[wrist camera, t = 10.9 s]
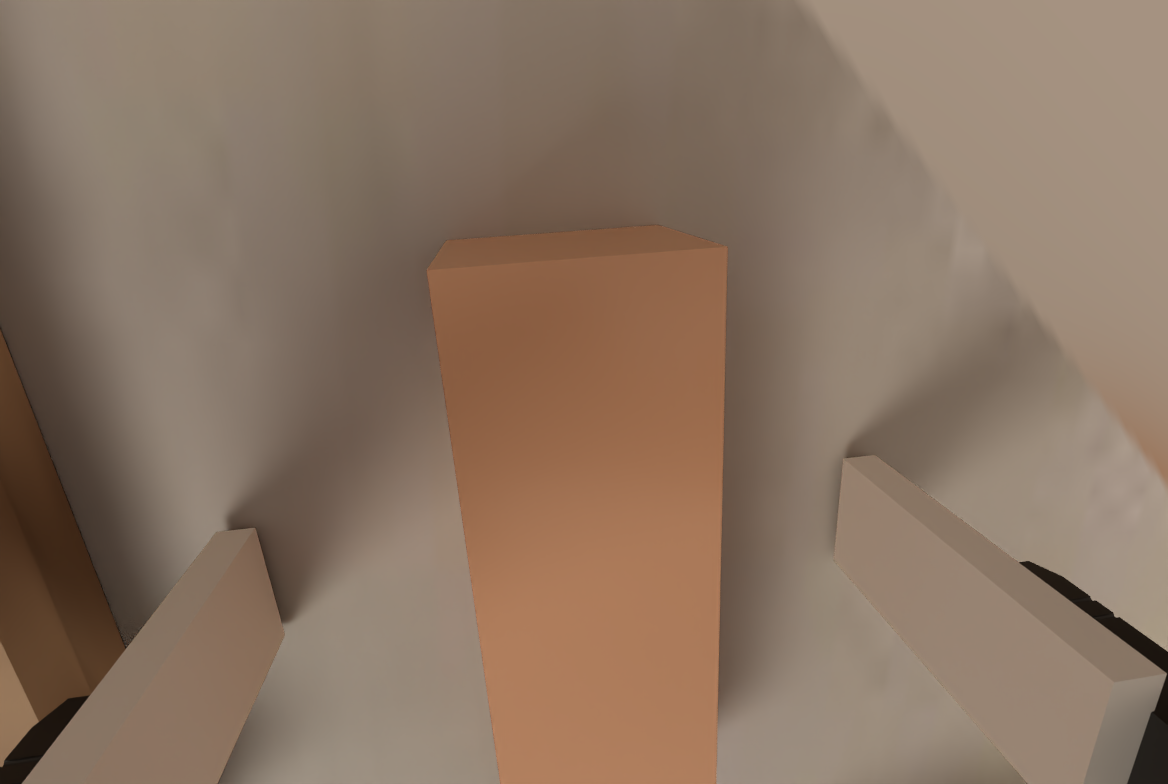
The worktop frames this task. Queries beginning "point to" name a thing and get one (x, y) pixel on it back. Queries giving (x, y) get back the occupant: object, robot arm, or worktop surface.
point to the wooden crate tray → (42, 580)
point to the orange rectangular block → (591, 493)
